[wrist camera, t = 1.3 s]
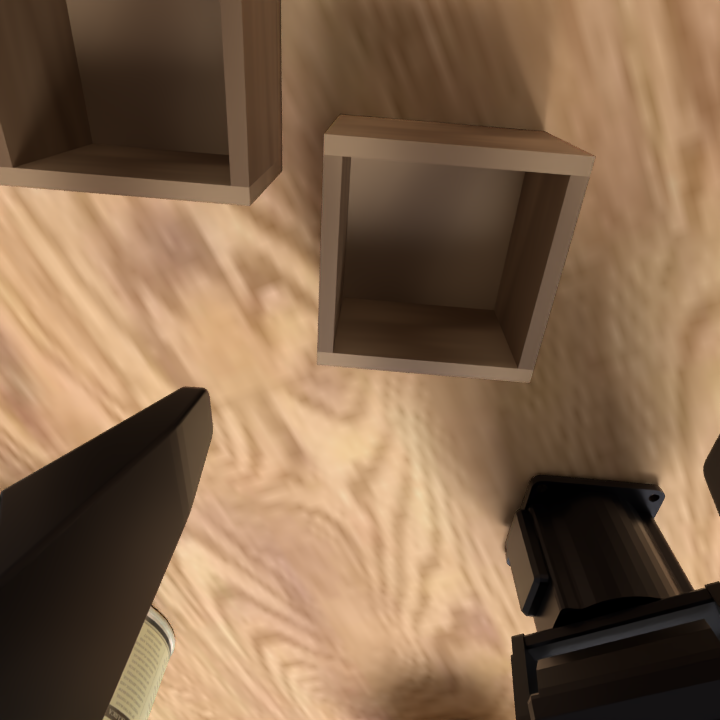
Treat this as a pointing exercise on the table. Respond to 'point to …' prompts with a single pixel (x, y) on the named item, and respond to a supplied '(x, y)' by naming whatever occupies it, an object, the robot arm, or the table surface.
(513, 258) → the box
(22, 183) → the box
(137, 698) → the coffee can
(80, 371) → the table surface
